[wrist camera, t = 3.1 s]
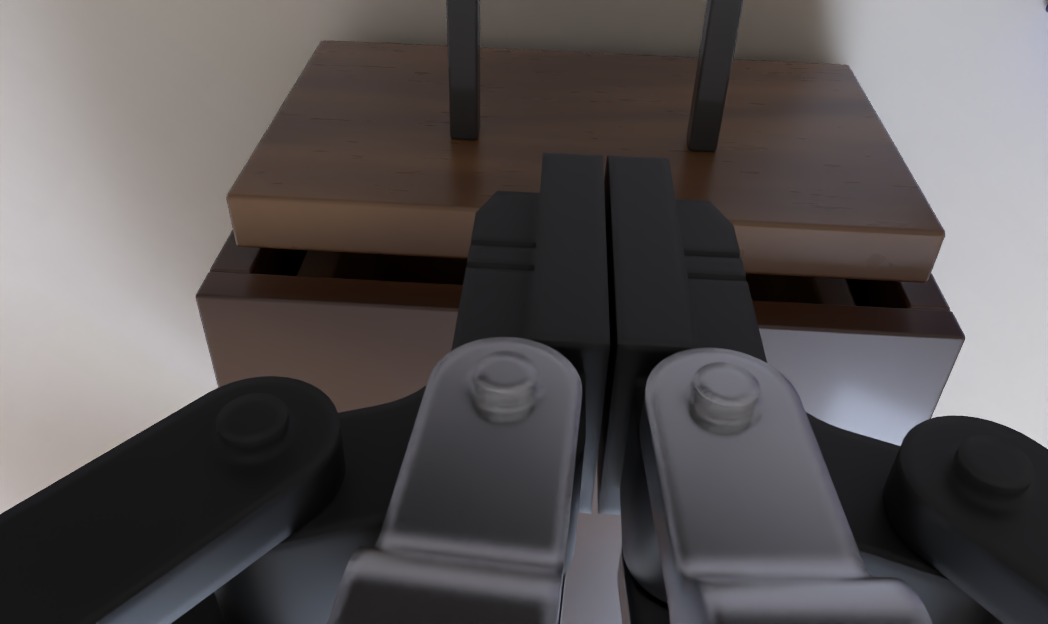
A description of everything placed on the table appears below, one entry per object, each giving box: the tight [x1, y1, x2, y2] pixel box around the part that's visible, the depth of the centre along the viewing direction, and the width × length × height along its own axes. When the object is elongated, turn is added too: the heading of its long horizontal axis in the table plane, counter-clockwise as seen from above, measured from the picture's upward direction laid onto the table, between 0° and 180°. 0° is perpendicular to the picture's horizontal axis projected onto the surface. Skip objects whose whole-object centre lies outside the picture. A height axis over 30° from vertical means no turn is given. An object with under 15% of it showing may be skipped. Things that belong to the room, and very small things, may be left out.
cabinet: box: [196, 230, 965, 624], centre depth 26 cm, size 16×15×10 cm
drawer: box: [226, 0, 945, 306], centre depth 22 cm, size 20×14×8 cm, turn 178°
